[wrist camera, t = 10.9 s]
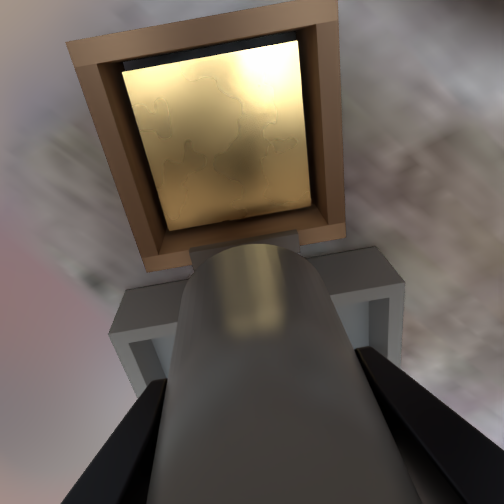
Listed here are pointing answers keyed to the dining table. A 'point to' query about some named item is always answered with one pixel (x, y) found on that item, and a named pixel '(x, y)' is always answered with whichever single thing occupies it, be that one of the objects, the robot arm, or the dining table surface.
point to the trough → (338, 286)
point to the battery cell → (269, 394)
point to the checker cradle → (135, 159)
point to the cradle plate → (224, 134)
